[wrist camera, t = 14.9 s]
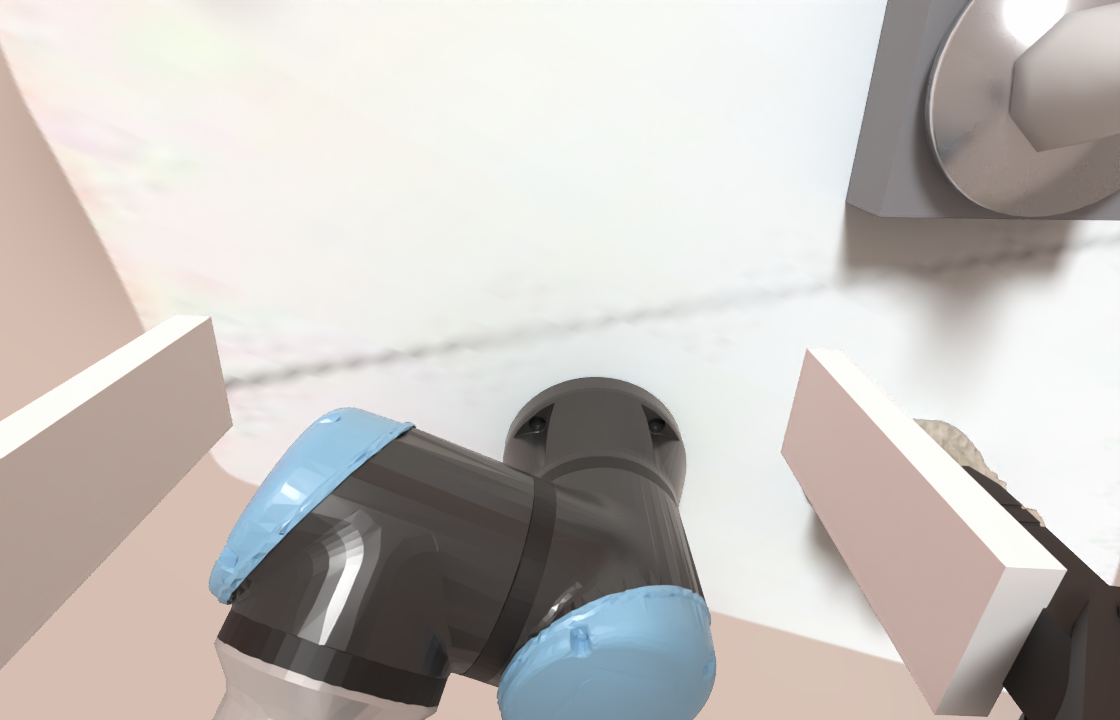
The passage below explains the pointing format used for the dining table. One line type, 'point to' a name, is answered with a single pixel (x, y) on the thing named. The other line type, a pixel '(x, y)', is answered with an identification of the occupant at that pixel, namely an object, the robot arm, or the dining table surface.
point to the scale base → (917, 127)
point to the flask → (1070, 81)
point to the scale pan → (1007, 116)
